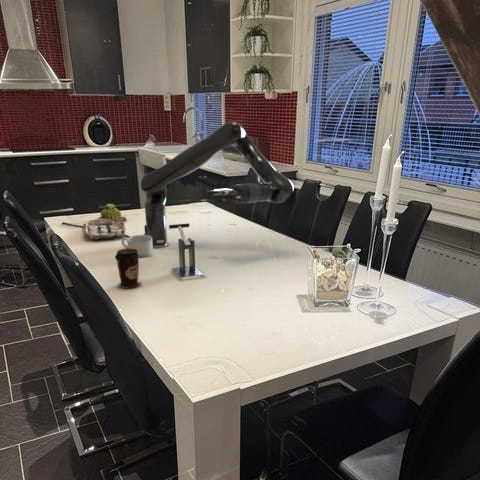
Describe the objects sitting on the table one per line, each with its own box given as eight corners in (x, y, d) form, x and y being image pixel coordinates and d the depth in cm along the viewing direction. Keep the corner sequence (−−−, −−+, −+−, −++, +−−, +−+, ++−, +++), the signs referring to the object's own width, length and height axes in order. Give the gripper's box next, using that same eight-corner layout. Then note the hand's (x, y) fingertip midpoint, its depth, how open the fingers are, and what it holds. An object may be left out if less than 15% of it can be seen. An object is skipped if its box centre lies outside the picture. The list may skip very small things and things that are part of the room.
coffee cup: (146, 283, 172) (143, 249, 167) (134, 290, 165) (131, 255, 160) (125, 280, 175) (122, 246, 169) (113, 287, 168) (109, 252, 162)
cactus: (122, 224, 260) (121, 206, 256) (94, 224, 260) (92, 206, 256) (129, 217, 275) (128, 201, 271) (102, 217, 275) (101, 200, 271)
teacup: (158, 254, 207) (157, 236, 204) (143, 260, 198) (142, 242, 195) (132, 250, 212) (131, 233, 209) (117, 256, 203) (115, 238, 200)
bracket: (172, 271, 186) (170, 236, 180) (193, 268, 189) (192, 234, 183) (181, 280, 176) (179, 244, 170) (203, 277, 179) (202, 242, 173)
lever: (168, 227, 182) (169, 223, 180) (188, 226, 185) (188, 221, 183) (177, 250, 176) (177, 245, 174) (197, 247, 179) (198, 243, 177)
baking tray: (131, 240, 228) (130, 229, 226) (84, 244, 221) (83, 232, 219) (121, 227, 254) (120, 217, 252) (80, 230, 246) (78, 219, 244)
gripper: (240, 181, 194) (203, 183, 188) (255, 186, 182) (216, 188, 176) (240, 199, 197) (203, 202, 191) (254, 205, 185) (216, 208, 179)
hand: (209, 195), depth 183 cm, fingers open, 8 cm apart
